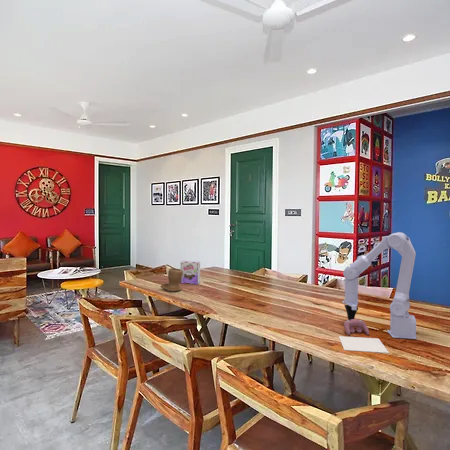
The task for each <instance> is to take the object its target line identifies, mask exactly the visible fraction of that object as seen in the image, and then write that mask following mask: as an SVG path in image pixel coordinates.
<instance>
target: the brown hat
mask: <svg viewBox="0 0 450 450" xmlns="http://www.w3.org/2000/svg"><path fill="white" fill-rule="evenodd" d="M182 275H183V271H182V270H181V268H177V267H170V268H169V269H168V272H167V278H168V283H163V284H161V285H160V288H162V289H164V290H166V291H170V292H178V291H181V290H183V289H182V287H181V285H180V284H181V278H182Z"/></svg>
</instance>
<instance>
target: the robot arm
mask: <svg viewBox="0 0 450 450" xmlns="http://www.w3.org/2000/svg"><path fill="white" fill-rule="evenodd" d="M389 249H394V250H395V251H397V253H398V254H399V255H400V256H401V262H400V267H399V272H398V278H397V283H396V288H395V289H396V290H395V292H394V293H395V294H394V297H393V299H392V300H393V301H392V302H391V303H390V305H389V311H390V313H389V314H390V322H389V324H390V327H389V328H390V329H387V330H386V332H387V333H388V334H389V335H390V337H392V338H395V339H410V340H417V339H418V338H417V319H416V316H415V315H413V314H410V313H409V311H408V310H410V307H411V302H410V290H411V283H412V282H411V281H412V278H413V271H414V267H415V262H416V261H415V260H416V256H417V255H416V253H417V252H416V251H415V248H414V246H413V244H412V242H411V239H410V237H409V236H407V235H406V233H404V232H401V231H398V232H393V233H391V234H389V235H388V236H386V237H385V238H383V239H382V240H381V241H379V242H378V244H376V245H375V246H374V247H373V248H372V249H371V250H370V251H369V252H368V253H367V254H365V255H363V254H362V255H358V256H357V257H356V260H355V261H353V262H352V263H350V264H349V266H348V267H345V269H344V270H343V272H342V273H343V277H344V300H342V301H341V302H342V304H344V305H343V306H344V308H345V311H346V316H347V320H351V319H356V314H357V312H358V310H359V306H358V305H359V296H358V294H359V277H360V274H362V273H363V272H364V271H365V270H367V269H368V268H369V267H370V266H371V265H372V260H374V259H375V258H376V257H378V256H379V255H380V254H381V253H383V252H384V251H385V250H389Z"/></svg>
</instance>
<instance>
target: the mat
mask: <svg viewBox="0 0 450 450" xmlns="http://www.w3.org/2000/svg"><path fill="white" fill-rule="evenodd" d="M338 339H339V341H340V344H341V345H342V347H343V350H344V351H350V352H365V353H381V354H382V353H383V354H390V352H389V350H388V349H387V348H386V346H385V345H384V344H383V342H382V341H381V339H379V338H377V337H376V338H375V337H361V336H358V337H357V336H356V337H355V336H343V335H342V336H341V335H339V336H338Z"/></svg>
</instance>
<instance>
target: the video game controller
mask: <svg viewBox="0 0 450 450" xmlns="http://www.w3.org/2000/svg"><path fill="white" fill-rule="evenodd" d="M343 327H344V330H345V333H346V334H347V336H350V335H351V334H353V333H355V332H356V333H362V331H364V333H365V334H366V335H367V336H369V335H370V331H369V327H368V326H367V324H366V322H365V321H364V320H363V319H357V318H354V319H351V320H348V319H346V321H344V322H343ZM355 327H356V328H355Z"/></svg>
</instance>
